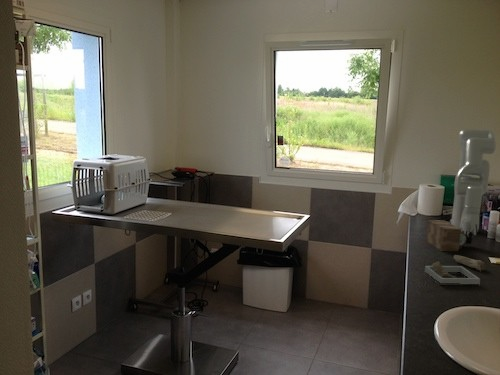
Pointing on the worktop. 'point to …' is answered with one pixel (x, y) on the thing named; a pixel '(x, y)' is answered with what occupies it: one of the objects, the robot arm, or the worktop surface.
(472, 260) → the bone fragment
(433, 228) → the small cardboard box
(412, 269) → the worktop surface
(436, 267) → the vertebra
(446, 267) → the frame
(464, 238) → the tin
